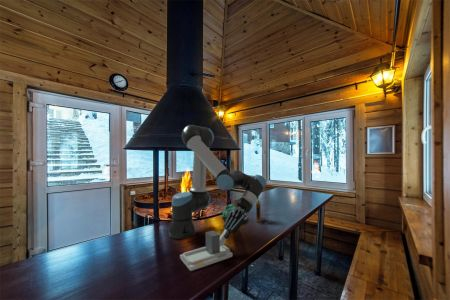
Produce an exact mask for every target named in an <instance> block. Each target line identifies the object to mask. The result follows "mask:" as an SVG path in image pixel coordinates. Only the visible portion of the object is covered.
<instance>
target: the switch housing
mask: <svg viewBox="0 0 450 300" xmlns="http://www.w3.org/2000/svg"><path fill="white" fill-rule="evenodd" d="M232 257H233V252H231V249H230V248H229V247H227V246H226V245H225V244H223V246H222V245H221V244H220V252H219V253H216V254H212V255H211V254H210V253H209V252H208V251H206V246H202V247H199V248H196V249H195V248H194V249H192V250H189V251H185V252H183V253H182V254H179V259H180V260H181V261H182V262H183V264H184V265H185V266H186V267H187V269H188V270H189V271H190V272H193V271H195V270H198V269H201V268H204V267H208V266H210V265H212V264H215V263H219V262H221V261H224V260H226V259H227V260H228V259H229V258H232Z"/></svg>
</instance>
